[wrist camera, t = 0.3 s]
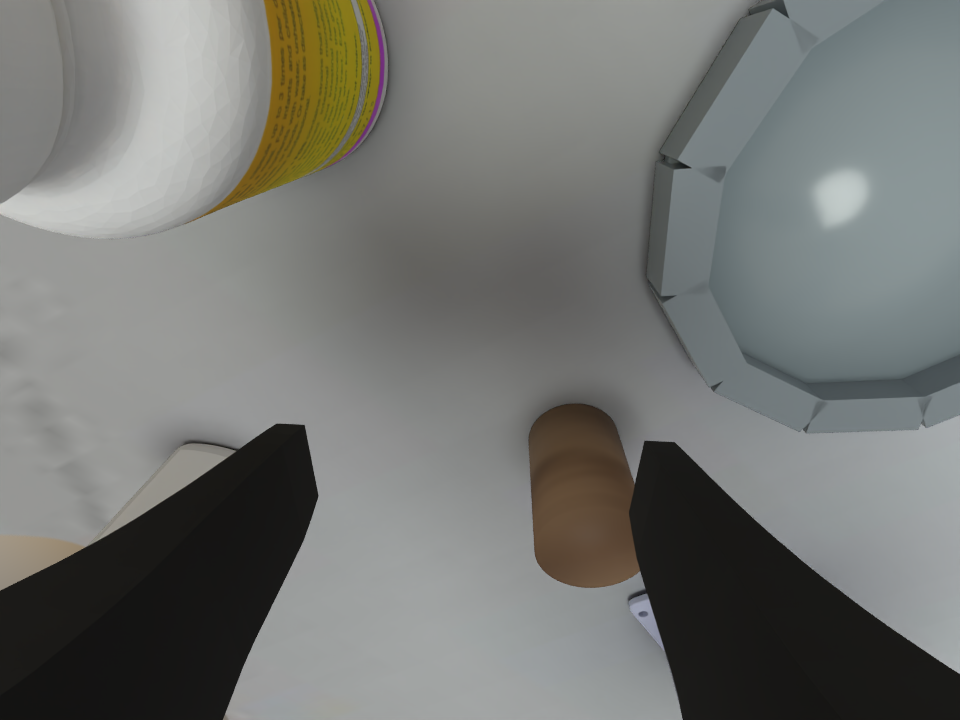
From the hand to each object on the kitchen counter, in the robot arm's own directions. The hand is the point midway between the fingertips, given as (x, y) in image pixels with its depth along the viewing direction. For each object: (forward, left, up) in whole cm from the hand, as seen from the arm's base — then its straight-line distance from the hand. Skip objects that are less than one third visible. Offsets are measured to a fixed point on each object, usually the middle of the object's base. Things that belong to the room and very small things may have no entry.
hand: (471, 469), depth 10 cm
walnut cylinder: (-8, +1, -10) cm, 12 cm away
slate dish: (-5, -13, -10) cm, 17 cm away
